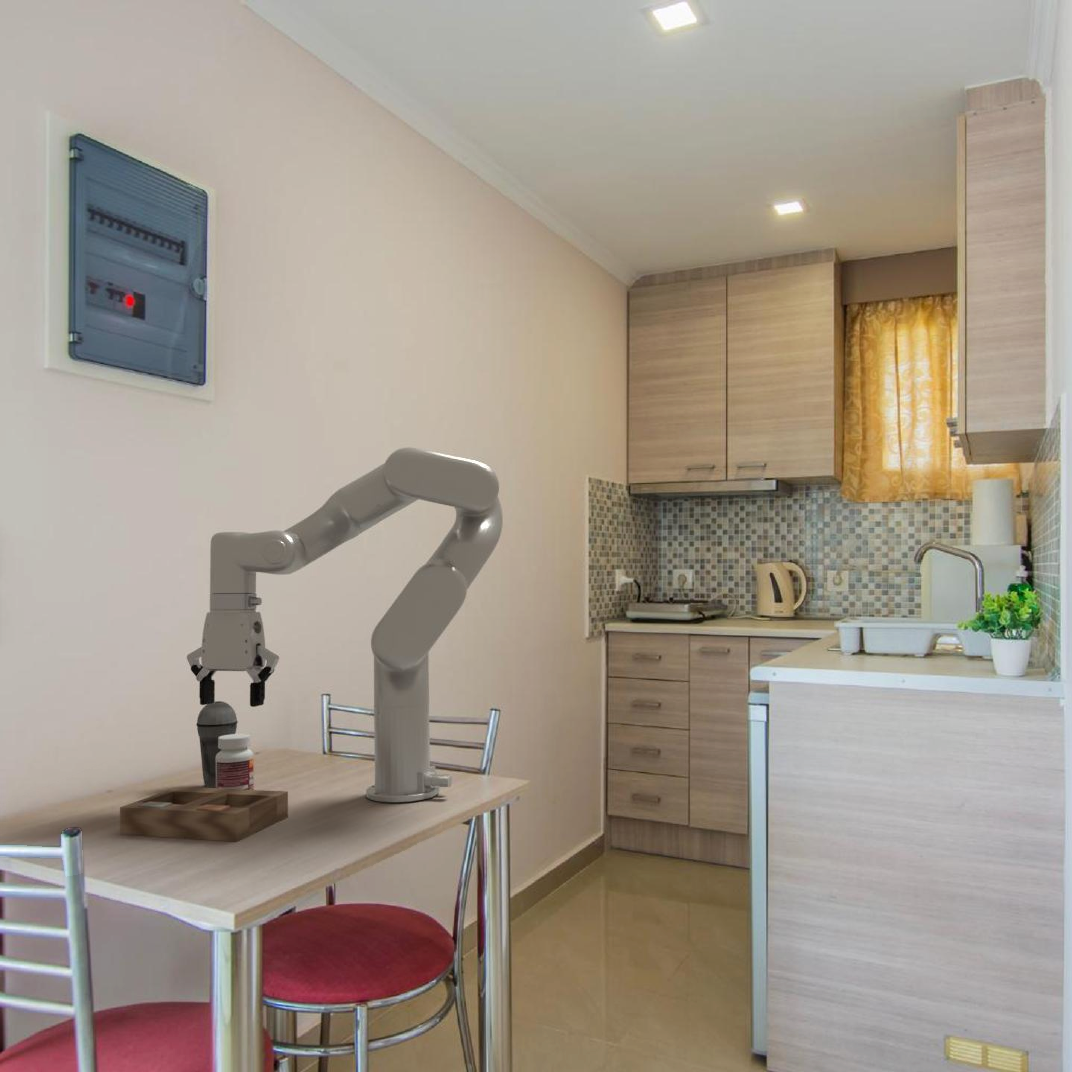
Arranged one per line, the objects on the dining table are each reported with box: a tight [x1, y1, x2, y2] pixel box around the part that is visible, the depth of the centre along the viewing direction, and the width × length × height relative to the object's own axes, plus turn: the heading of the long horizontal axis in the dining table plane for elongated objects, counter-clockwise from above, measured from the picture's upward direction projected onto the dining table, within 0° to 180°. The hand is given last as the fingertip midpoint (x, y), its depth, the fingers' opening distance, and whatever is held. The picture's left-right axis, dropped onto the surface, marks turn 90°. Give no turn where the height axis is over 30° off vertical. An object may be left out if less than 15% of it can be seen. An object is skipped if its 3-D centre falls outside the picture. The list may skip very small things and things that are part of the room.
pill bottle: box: [215, 733, 255, 790], centre depth 157 cm, size 6×6×11 cm
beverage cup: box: [195, 677, 239, 788], centre depth 171 cm, size 7×7×20 cm
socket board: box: [119, 786, 289, 843], centre depth 143 cm, size 20×14×4 cm
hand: (231, 704), depth 157 cm, fingers open, 9 cm apart
